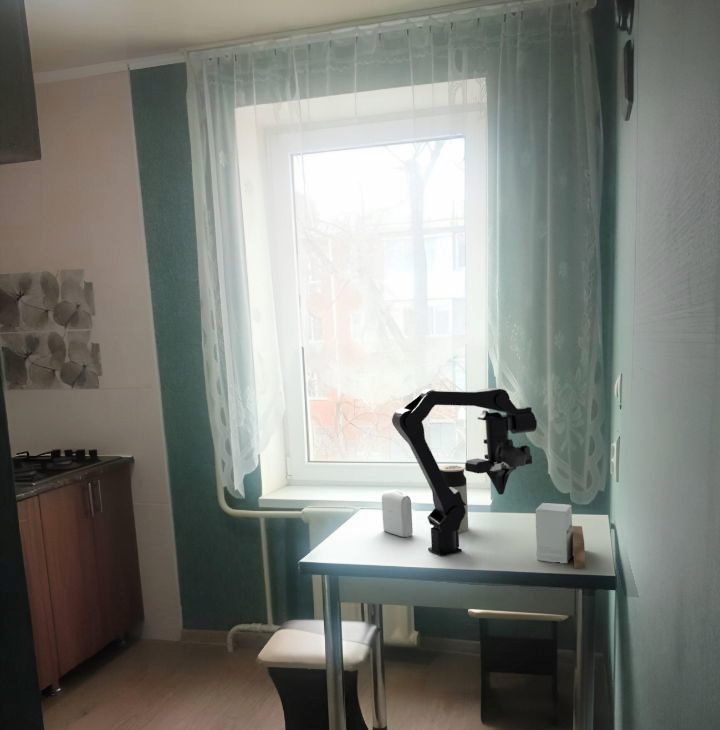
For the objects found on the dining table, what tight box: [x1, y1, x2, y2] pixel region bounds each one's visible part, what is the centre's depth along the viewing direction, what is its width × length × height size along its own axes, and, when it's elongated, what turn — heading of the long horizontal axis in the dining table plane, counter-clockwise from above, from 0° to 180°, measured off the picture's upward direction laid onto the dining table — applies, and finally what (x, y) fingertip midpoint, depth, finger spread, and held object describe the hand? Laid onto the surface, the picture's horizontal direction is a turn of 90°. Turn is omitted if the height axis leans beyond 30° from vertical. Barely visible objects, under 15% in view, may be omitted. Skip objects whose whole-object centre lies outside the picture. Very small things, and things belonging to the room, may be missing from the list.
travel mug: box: [439, 464, 469, 533], centre depth 179 cm, size 8×8×18 cm
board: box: [572, 525, 586, 569], centre depth 150 cm, size 2×14×6 cm, turn 163°
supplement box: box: [535, 502, 573, 564], centre depth 152 cm, size 7×7×13 cm
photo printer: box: [381, 489, 414, 538], centre depth 178 cm, size 10×4×12 cm, turn 35°
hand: (501, 494), depth 164 cm, fingers closed
